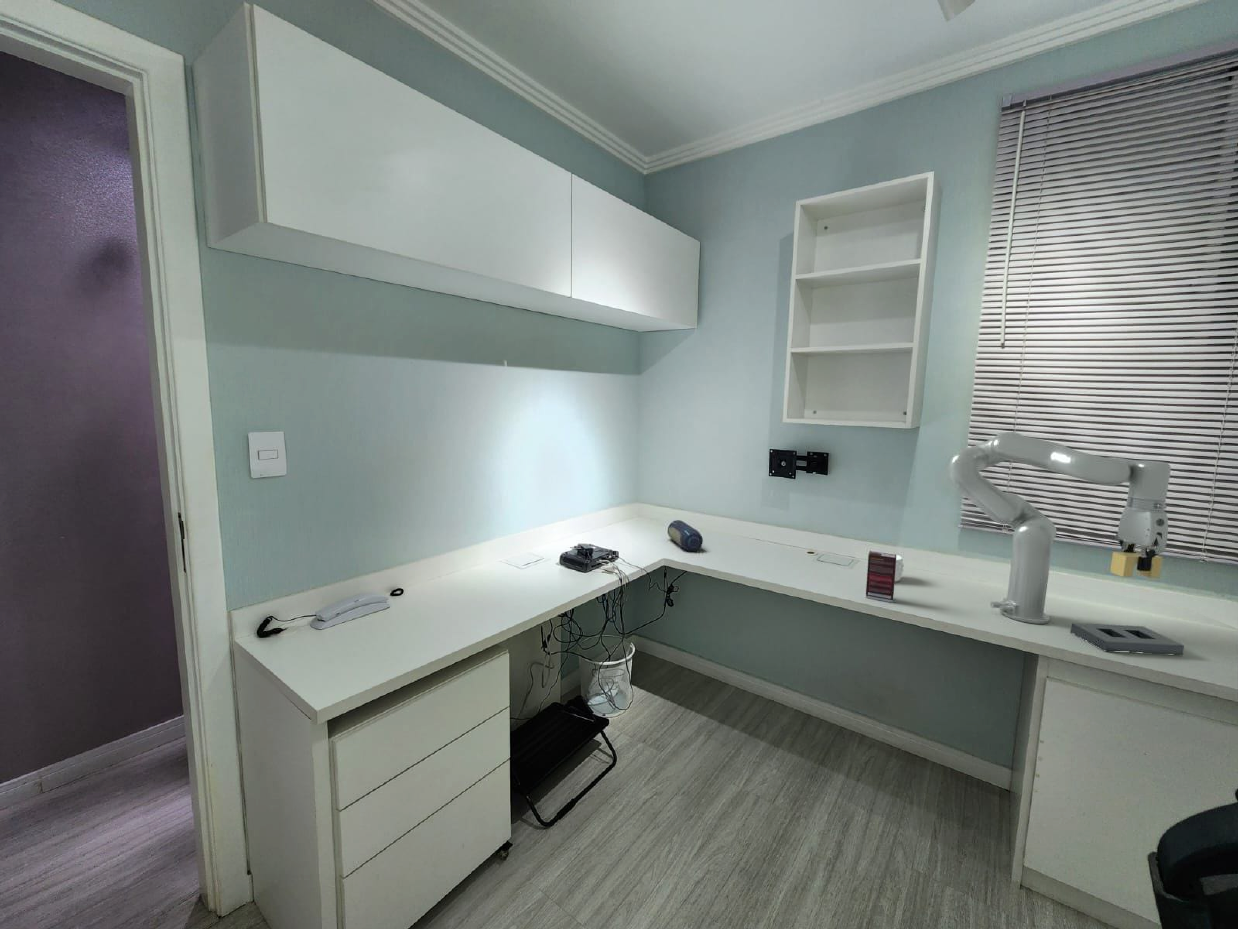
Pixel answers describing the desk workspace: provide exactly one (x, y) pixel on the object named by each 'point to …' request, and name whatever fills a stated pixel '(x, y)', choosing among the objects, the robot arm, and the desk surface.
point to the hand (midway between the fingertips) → (1135, 567)
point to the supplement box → (881, 576)
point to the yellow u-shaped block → (1125, 565)
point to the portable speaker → (685, 535)
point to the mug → (898, 567)
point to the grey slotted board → (1126, 638)
